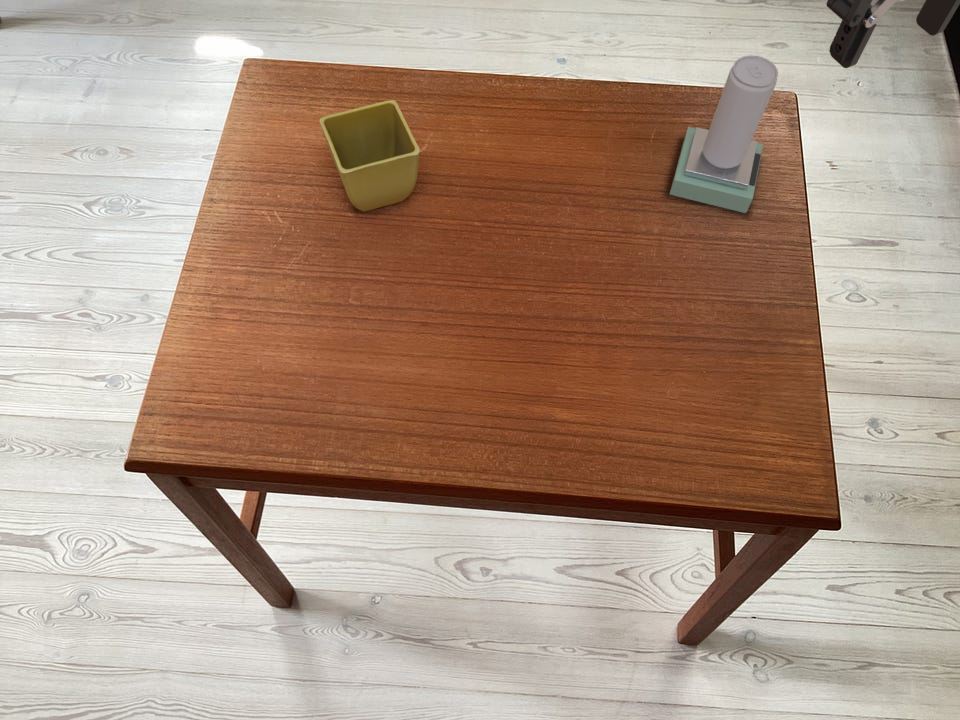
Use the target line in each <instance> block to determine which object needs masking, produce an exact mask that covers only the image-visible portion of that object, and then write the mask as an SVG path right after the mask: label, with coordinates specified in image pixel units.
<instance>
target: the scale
mask: <svg viewBox="0 0 960 720" xmlns="http://www.w3.org/2000/svg"><path fill="white" fill-rule="evenodd" d="M695 130H696V128H695V127H692V126H688V127H687V129H686V132H685V135H684V138H683V142H682V145H681V149H680V152H679V156H678V161H677V164H676V168H675V172H674V175H673V179H672V182H671V186H670V190H669V195H670V196H673V197H677V198H682V199H685V200H690V201H694V202H697V203H698V202H699V203H702V204H706V205H711V206H714V207H719V208H722V209H727V210H731V211H733V212H734V211H735V212H739V213H743V214H747V212H748V210H749V208H750V206H751V204H752V201H753V200H754V194H755V189H756V184H757V179H758V173H759V170H760V164H761V159H762V153H763V148H764V144H763V143H760V142H757V146H756V151H755V156H754V161H753V166H752V171H751V176H750V181H749V186H748V188H747V190H745V189H741V188H737V187H733V186H728V185H724V184H720V183H716V182H712V181H708V180H704V179H699V178H695V177H691V176H687V175H684V172H685V168H686V164H687V160H688V157H689V153H690V149H691V145H692V141H693V137H694V133H695Z"/></svg>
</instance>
